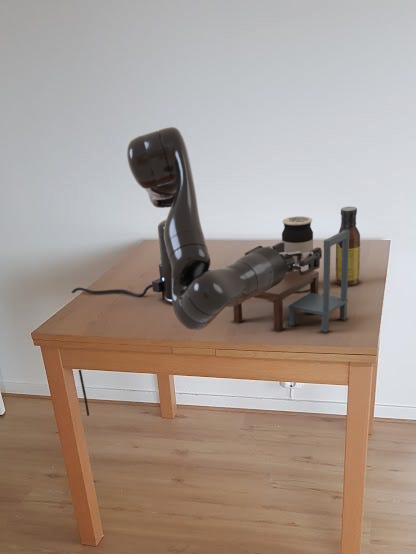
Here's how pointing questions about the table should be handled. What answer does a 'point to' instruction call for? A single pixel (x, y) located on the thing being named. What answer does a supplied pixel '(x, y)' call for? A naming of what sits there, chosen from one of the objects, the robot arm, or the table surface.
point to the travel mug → (298, 237)
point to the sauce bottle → (354, 247)
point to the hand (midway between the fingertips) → (300, 249)
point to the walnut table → (283, 294)
